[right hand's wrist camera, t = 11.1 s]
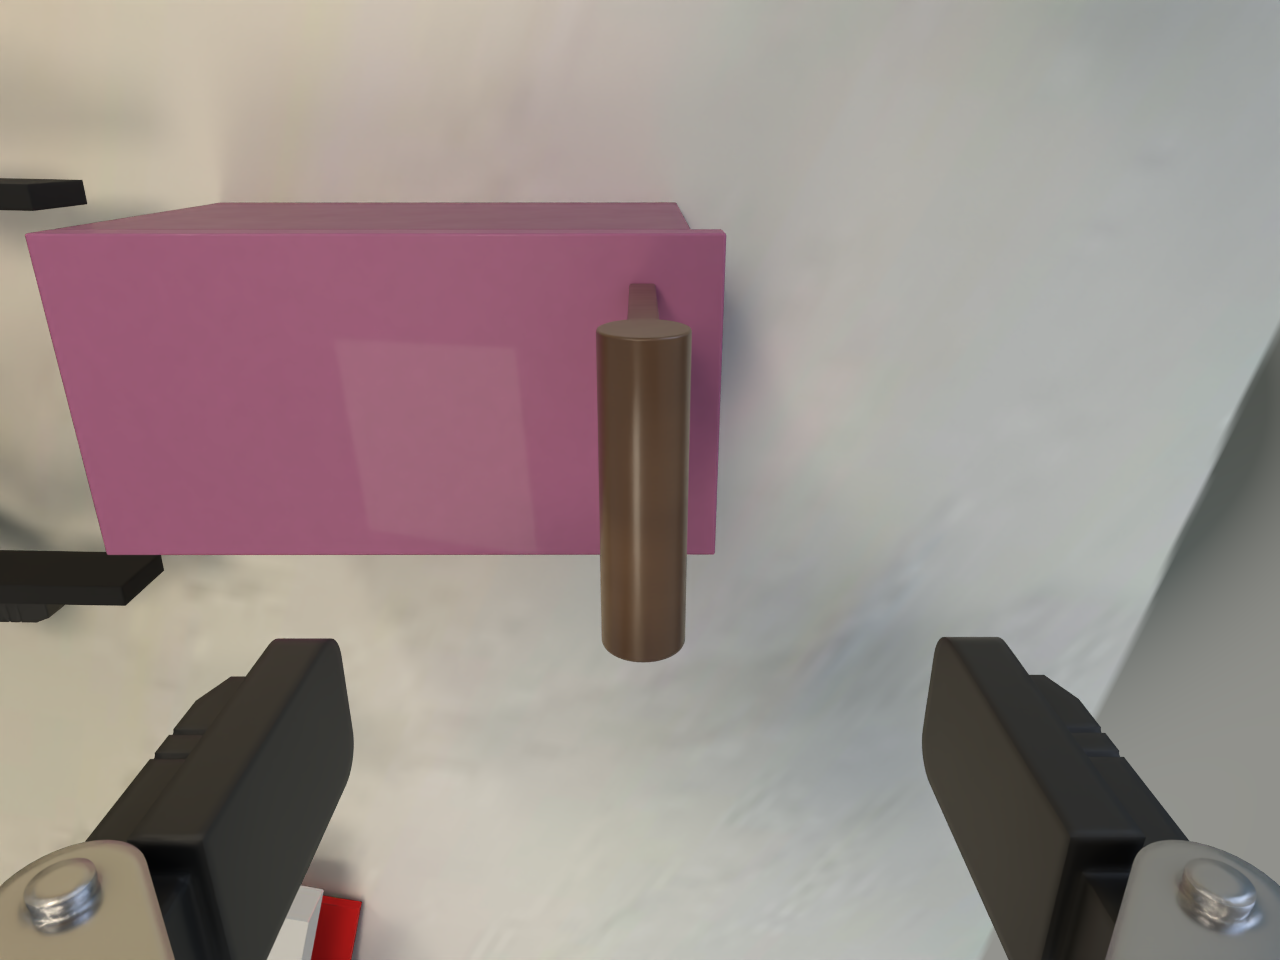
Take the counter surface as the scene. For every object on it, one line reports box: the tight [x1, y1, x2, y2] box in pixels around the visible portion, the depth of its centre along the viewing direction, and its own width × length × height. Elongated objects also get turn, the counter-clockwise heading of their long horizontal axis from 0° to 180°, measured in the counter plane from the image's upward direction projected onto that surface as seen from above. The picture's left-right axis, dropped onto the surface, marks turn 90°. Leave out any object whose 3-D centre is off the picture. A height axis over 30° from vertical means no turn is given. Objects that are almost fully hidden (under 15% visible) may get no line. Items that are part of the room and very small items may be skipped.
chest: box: [55, 203, 690, 230], centre depth 30 cm, size 18×9×10 cm, turn 90°
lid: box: [25, 229, 726, 662], centre depth 21 cm, size 18×9×8 cm, turn 90°
